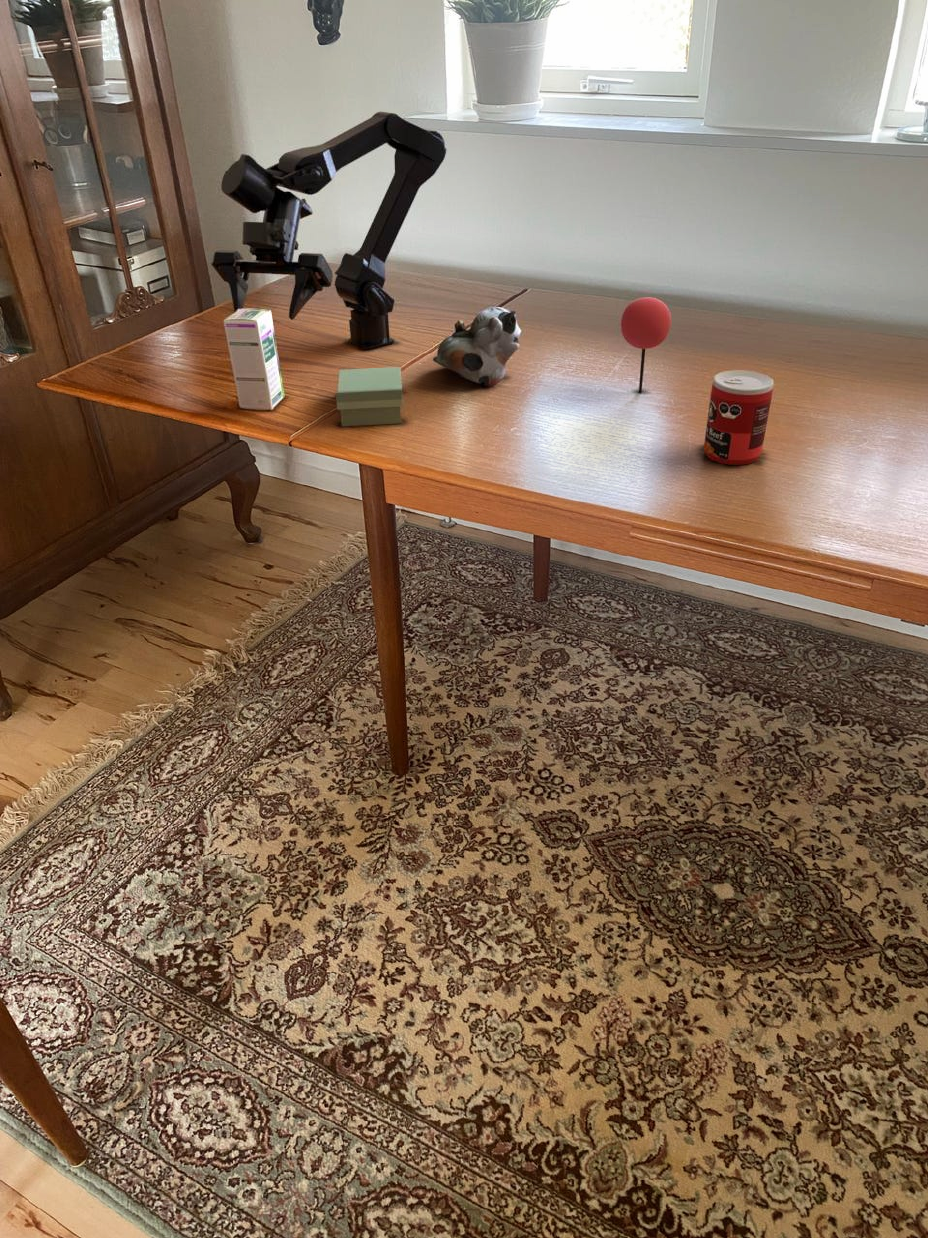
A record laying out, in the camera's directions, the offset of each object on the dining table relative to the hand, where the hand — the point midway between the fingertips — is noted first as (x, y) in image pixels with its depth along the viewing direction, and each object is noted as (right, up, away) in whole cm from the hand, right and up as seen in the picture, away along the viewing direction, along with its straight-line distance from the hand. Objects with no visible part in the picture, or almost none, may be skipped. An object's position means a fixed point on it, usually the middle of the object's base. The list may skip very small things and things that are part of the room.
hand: (263, 316), depth 148 cm
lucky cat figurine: (+34, -7, +11) cm, 37 cm away
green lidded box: (+17, -15, 0) cm, 23 cm away
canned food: (+70, -25, -17) cm, 76 cm away
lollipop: (+61, -11, +3) cm, 62 cm away
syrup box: (-1, -13, +3) cm, 14 cm away
